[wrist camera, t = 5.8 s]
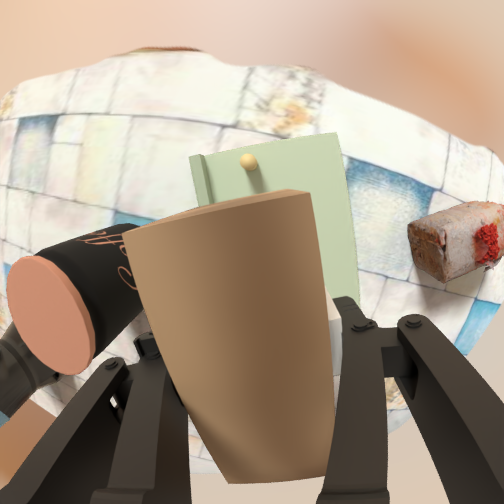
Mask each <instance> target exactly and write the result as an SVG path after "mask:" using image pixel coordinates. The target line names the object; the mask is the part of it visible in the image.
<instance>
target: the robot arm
mask: <svg viewBox="0 0 504 504" xmlns="http://www.w3.org/2000/svg"><path fill="white" fill-rule="evenodd" d="M325 293H326V301H327V310H328V320H329V330H330V342H331V354H332V368H333V376H337V375H340V385H339V394H338V402H337V410H336V417H335V424H334V430H333V437H332V443H331V448H330V454H329V459H328V464H327V469H326V474H325V479H324V484H323V488H322V491H321V493H320V494H319V496H318V498H317V501H316V504H389V502H390V501H389V500H390V497H389V491H388V490H387V467H388V432H387V408H386V393H385V381H384V378H386V377H394V380H395V382H396V384H397V385H398V387H399V389H400V391H401V393H402V395H403V397H404V399H405V401H406V403H407V405H408V407H409V409H410V412H411V414H412V416H413V418H414V420H415V422H416V424H417V426H418V428H419V430H420V433H421V435H422V437H423V439H424V441H425V444H426V446H427V448H428V450H429V452H430V455H431V457H432V460H433V462H434V464H435V467H436V469H437V471H438V474H439V476H440V479H441V482H442V484H443V486H444V489H445V492H446V494H447V497H448V500H449V503H450V504H504V403H503V402H502V401H501V400H500V398H499V397H498V396H497V395H496V393H495V392H494V391H493V390H492V389H491V387H490V386H489V385H488V384H487V382H486V381H485V380H484V379H483V378H482V376H481V375H480V374H479V373H478V372H477V371H476V369H474V367H473V366H472V365H471V364H470V363H469V361H467V359H466V358H465V357H464V356H463V355H462V354H461V353H460V351H459V350H458V349H457V348H456V347H455V346H454V345H453V344H452V343H451V342H450V341H449V340H448V339H447V337H446V336H445V335H444V334H443V333H442V332H441V331H440V330H439V329H438V328H437V327H436V326H435V325H434V324H433V323H432V322H431V321H430V320H429V319H428V318H427V317H425V316H423V315H419V314H411V315H406V316H404V317H402V318H401V319H399V320H398V323H397V327H395V328H380V327H378V325H377V323H376V322H375V321H373V320H372V319H367V318H366V317H365V315H364V314H363V312H362V311H361V309H360V308H359V306H358V305H357V303H356V302H355V301H354V299H353V298H351V297H348V296H343V297H338V298H333V299H332V298H331V296H330V294H329V292H328V290H327V288H326V286H325ZM133 342H134V345H135V347H136V349H137V352H138V354H139V356H140V360H139V363H136V364H132V365H126V363H125V361H124V359H122V358H120V357H115V358H113V357H112V358H109V359H107V360H106V361H104V362H103V363H102V364H101V365H100V366H99V367H98V368H97V369H96V370H95V372H94V373H93V374H92V375H91V376H90V378H89V379H88V380H87V381H86V382H85V384H84V385H83V386H82V387H81V388H80V390H79V391H78V392H77V393H76V395H75V396H74V397H73V398H72V399H71V401H70V402H69V403H68V404H67V406H66V407H65V408H64V409H63V411H62V412H61V413H60V415H59V416H58V417H57V418H56V420H55V421H54V422H53V423H52V425H51V426H50V427H49V429H48V430H47V431H46V433H45V434H44V435H43V437H42V438H41V439H40V440H39V442H38V443H37V444H36V446H35V447H34V449H33V450H32V451H31V453H30V454H29V455H28V457H27V458H26V460H25V461H24V462H23V464H22V465H21V466H20V468H19V469H18V470H17V472H16V473H15V475H14V476H13V478H12V479H11V481H10V482H9V484H7V485H6V486H5V487H3V488H2V489H1V490H0V504H192V500H191V486H190V468H189V443H188V412H187V410H186V408H185V406H184V404H183V402H182V400H181V398H180V396H179V394H178V392H177V389H176V387H175V385H174V383H173V381H172V378H171V376H170V374H169V372H168V369H167V367H166V365H165V362H164V360H163V357H162V355H161V353H160V350H159V348H158V345H157V343H156V340H155V337H154V335H153V332H147V333H144V334H142V335H140V336H138V337H137V338H136V339H135V340H134V341H133ZM64 375H65V374H62V373H59V372H56V371H55V370H53V369H51V368H50V367H48V366H47V365H45V364H44V363H43V362H42V361H40V360H39V359H38V358H37V357H36V356H35V355H34V354H33V353H32V352H31V350H30V349H29V348H28V346H27V345H26V343H25V342H24V341H23V339H22V338H21V336H20V334H19V332H18V330H17V328H16V326H15V324H14V322H13V321H12V323H11V324H10V326H9V327H8V329H7V330H6V332H5V333H4V335H3V337H2V338H1V339H0V427H1V426H2V425H4V424H5V423H6V422H7V421H9V420H10V418H11V417H12V415H14V413H15V412H16V411H17V410H18V409H19V408H20V407H21V406H22V405H23V404H24V403H25V402H26V401H27V400H28V399H29V398H30V396H31V395H32V394H33V393H34V392H35V391H36V390H38V389H40V388H43V387H45V386H48V385H50V384H53V383H55V382H57V381H59V380H60V379H61V378H62V377H63V376H64ZM112 396H113V398H114V399H115V401H116V403H117V405H116V407H113V405H112V404H111V402H110V399H111V398H112Z"/></svg>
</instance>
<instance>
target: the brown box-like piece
mask: <svg viewBox="0 0 504 504" xmlns="http://www.w3.org/2000/svg"><path fill="white" fill-rule="evenodd" d="M122 237H123V241H124V245H125V249H126V252H127V256H128V259H129V263H130V266H131V270H132V273H133V277H134V280H135V283H136V286H137V289H138V292H139V295H140V298H141V301H142V304H143V307H144V310H145V313H146V316H147V319H148V321H149V324H150V327H151V330H152V332H153V335H154V337H155V340H156V343H157V345H158V348H159V350H160V353H161V355H162V357H163V360H164V362H165V365H166V367H167V369H168V372H169V374H170V376H171V378H172V381H173V383H174V385H175V387H176V389H177V392H178V394H179V396H180V398H181V400H182V402H183V404H184V406H185V408H186V410H187V412H188V414H189V416H190V418H191V420H192V422H193V424H194V426H195V428H196V430H197V431H198V433H199V435H200V437H201V439H202V441H203V442H204V444H205V446H206V448H207V449H208V451H209V453H210V455H211V456H212V458H213V460H214V461H215V463H216V465H217V466H218V468H219V470H220V471H221V473H222V474H223V476H224V478H225V479H226V481H227V482H228V484H248V483H271V482H283V481H293V480H301V479H308V478H315V477H321V476H325V474H326V469H327V464H328V459H329V454H330V448H331V443H332V437H333V430H334V424H335V406H334V384H333V368H332V354H331V342H330V330H329V320H328V310H327V301H326V293H325V284H324V277H323V269H322V262H321V255H320V248H319V241H318V235H317V228H316V222H315V216H314V211H313V205H312V199H311V194H310V192H305V191H299V190H293V189H282V190H277V191H271V192H266V193H261V194H256V195H251V196H246V197H241V198H236V199H232V200H227V201H222V202H218V203H213V204H209V205H204V206H200V207H197V208H194V209H191V210H188V211H185V212H181V213H178V214H175V215H172V216H169V217H166V218H164V219H161V220H158V221H155V222H152V223H149V224H146V225H143V226H141V227H138V228H135V229H132V230H129V231H127V232H124V233H122Z"/></svg>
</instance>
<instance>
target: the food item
mask: <svg viewBox="0 0 504 504" xmlns="http://www.w3.org/2000/svg"><path fill="white" fill-rule="evenodd" d="M408 237H409V241H410V244H411V250H412V255H413V259H414V262H415V264H416V266H417V267H418V268H420V269H422V270H424V271H425V272H426V273H428V274H430V275H431V276H433V277H434V278H436V279H437V280H439V281H441V282H442V283H443V284H444V283H446V282H447V281H450V280H452V279H455V278H457V277H460V276H462V275H464V274H467V273H468V272H470V271H473V270H475V269H477V268H479V267H481V266H487V265H489V266H488V267H486V268H485V271H487V270H489V269H491V268H493V269H494V266H496V265H497V264H498V263H499V261H500V260H501V258H502V256H504V205H501V204H497V203H494V202H489V201H487V202H479V201H472V202H467V203H463V204H460V205H457V206H454V207H451V208H449V209H447V210H443V211H440V212H437V213H434V214H431V215H428V216H426V217H423V218H421V219H419V220H416V221H413V222H411V223H410V224H408ZM485 271H484V272H485Z"/></svg>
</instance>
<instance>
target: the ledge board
mask: <svg viewBox="0 0 504 504" xmlns="http://www.w3.org/2000/svg"><path fill="white" fill-rule="evenodd" d="M189 161H190V166H191V171H192V176H193V181H194V186H195V191H196V196H197V201H198V206H199V207H200V206H204V205H209V204H213V203H218V202H222V201H227V200H232V199H236V198H241V197H246V196H251V195H256V194H261V193H266V192H271V191H277V190H282V189H293V190H299V191H305V192H310V194H311V199H312V205H313V211H314V216H315V222H316V228H317V235H318V241H319V248H320V255H321V262H322V269H323V277H324V284H325V286H326V288H327V290H328V292H329V294H330V296H331V298H332V299H333V298H338V297H343V296H348V297H351V298H353V299H354V301H355V302H356V303H357V305H358V306H359V308H360V297H359V281H358V268H357V257H356V247H355V238H354V230H353V222H352V214H351V207H350V201H349V194H348V188H347V182H346V176H345V171H344V165H343V160H342V155H341V150H340V145H339V141H338V136H337V132H334V133H325V134H317V135H310V136H303V137H296V138H290V139H284V140H278V141H272V142H266V143H261V144H256V145H251V146H246V147H241V148H236V149H232V150H227V151H223V152H219V153H214V154H210V155H206V156H203V155H201V154H198V155H194V156H190V157H189Z"/></svg>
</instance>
